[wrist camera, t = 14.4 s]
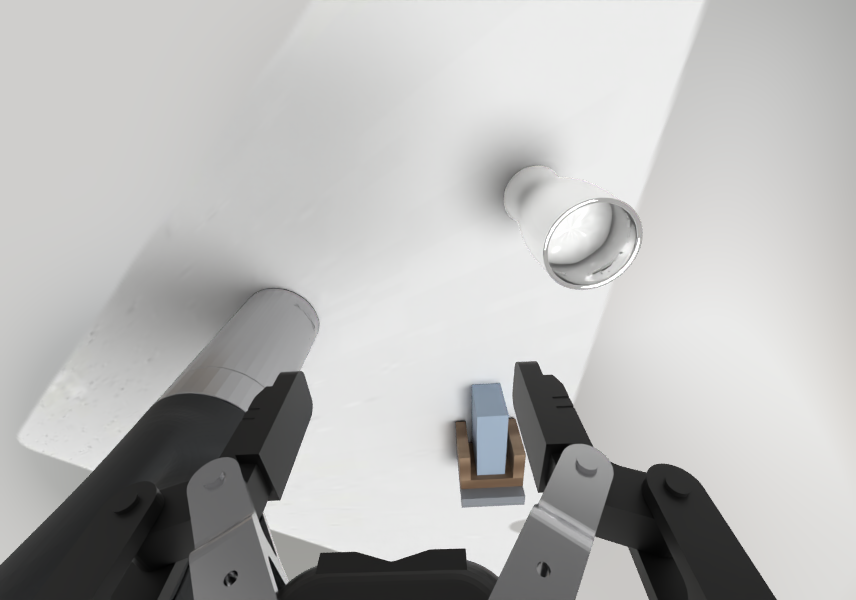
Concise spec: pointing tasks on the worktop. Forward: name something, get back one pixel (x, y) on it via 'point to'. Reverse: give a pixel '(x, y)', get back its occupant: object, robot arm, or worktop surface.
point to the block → (509, 479)
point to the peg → (489, 428)
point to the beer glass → (573, 227)
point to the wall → (492, 496)
